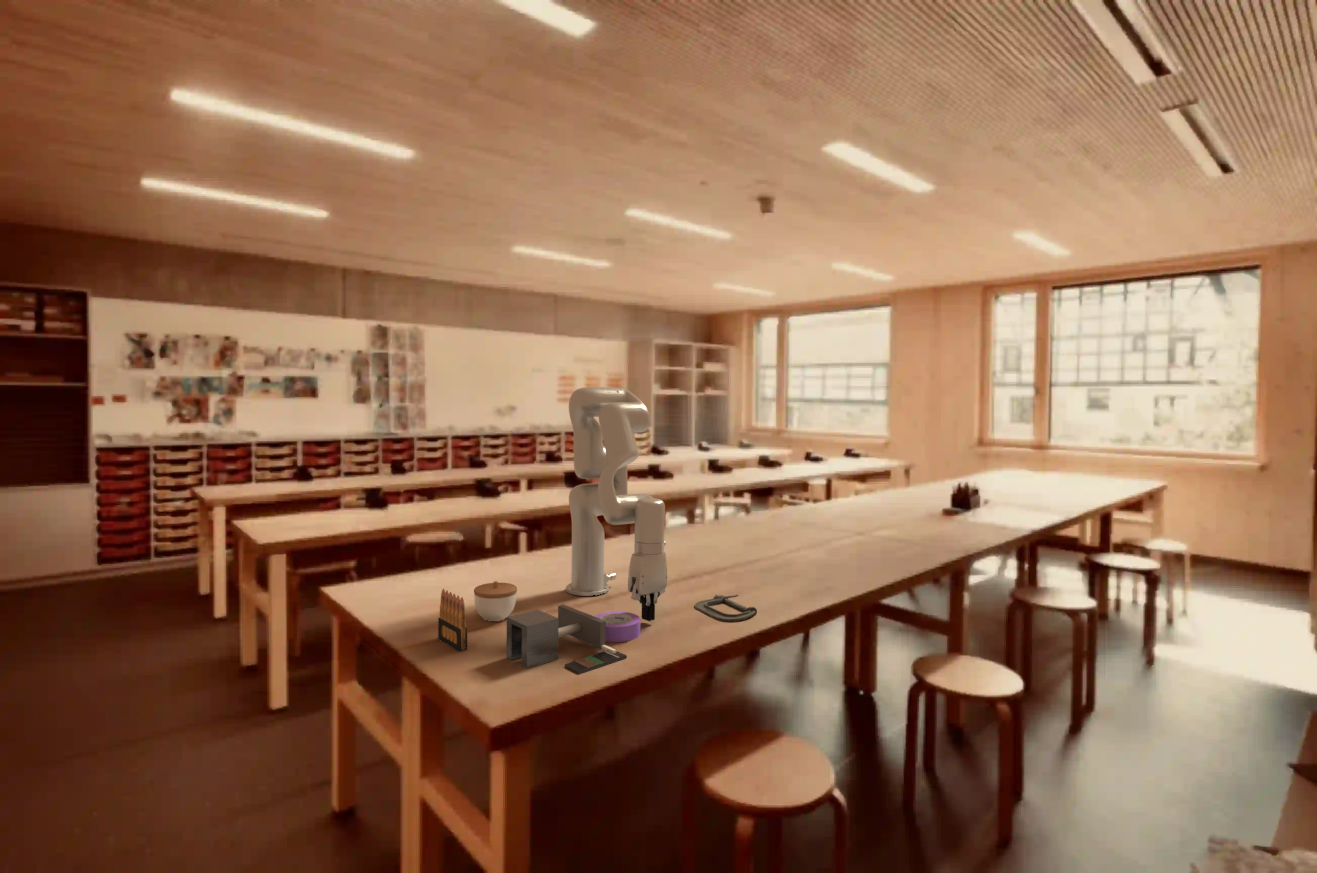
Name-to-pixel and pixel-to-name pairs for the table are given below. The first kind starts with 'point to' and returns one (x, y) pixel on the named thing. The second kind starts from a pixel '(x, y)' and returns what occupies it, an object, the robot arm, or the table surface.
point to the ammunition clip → (452, 621)
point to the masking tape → (620, 626)
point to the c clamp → (705, 608)
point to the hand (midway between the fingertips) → (648, 619)
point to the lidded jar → (495, 600)
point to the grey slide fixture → (546, 643)
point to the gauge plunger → (582, 627)
